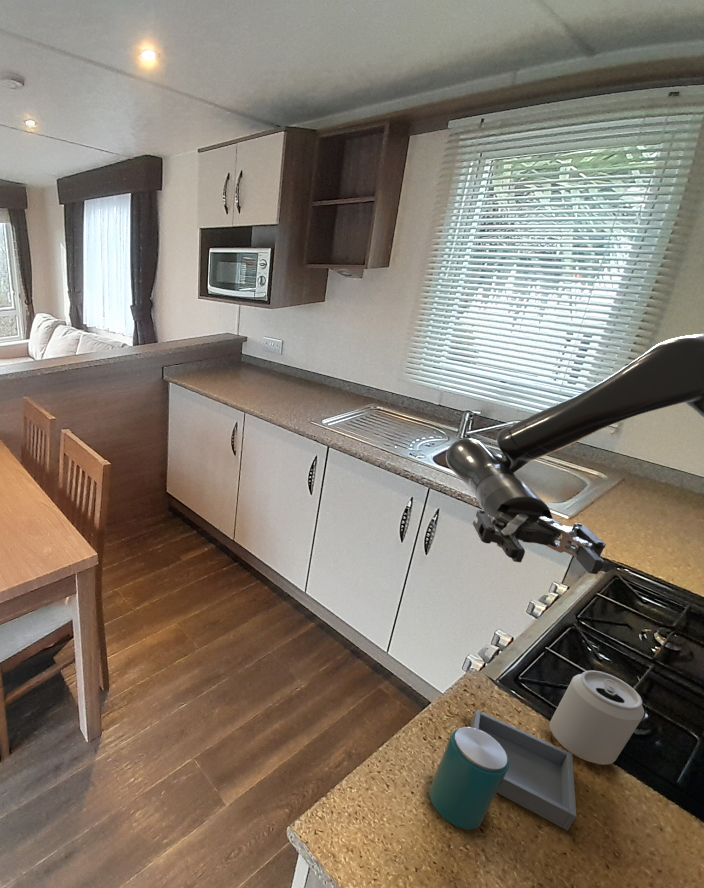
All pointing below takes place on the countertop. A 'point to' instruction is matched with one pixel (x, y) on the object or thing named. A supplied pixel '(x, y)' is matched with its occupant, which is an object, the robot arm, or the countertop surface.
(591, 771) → the countertop surface
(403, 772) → the countertop surface
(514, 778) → the gray rectangular tray
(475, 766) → the slim can
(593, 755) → the can
